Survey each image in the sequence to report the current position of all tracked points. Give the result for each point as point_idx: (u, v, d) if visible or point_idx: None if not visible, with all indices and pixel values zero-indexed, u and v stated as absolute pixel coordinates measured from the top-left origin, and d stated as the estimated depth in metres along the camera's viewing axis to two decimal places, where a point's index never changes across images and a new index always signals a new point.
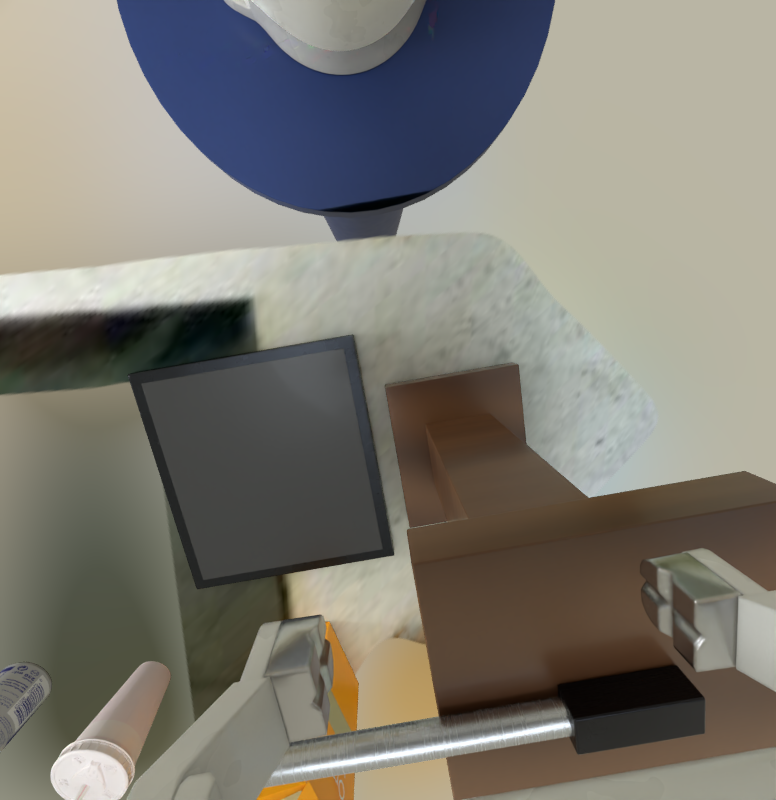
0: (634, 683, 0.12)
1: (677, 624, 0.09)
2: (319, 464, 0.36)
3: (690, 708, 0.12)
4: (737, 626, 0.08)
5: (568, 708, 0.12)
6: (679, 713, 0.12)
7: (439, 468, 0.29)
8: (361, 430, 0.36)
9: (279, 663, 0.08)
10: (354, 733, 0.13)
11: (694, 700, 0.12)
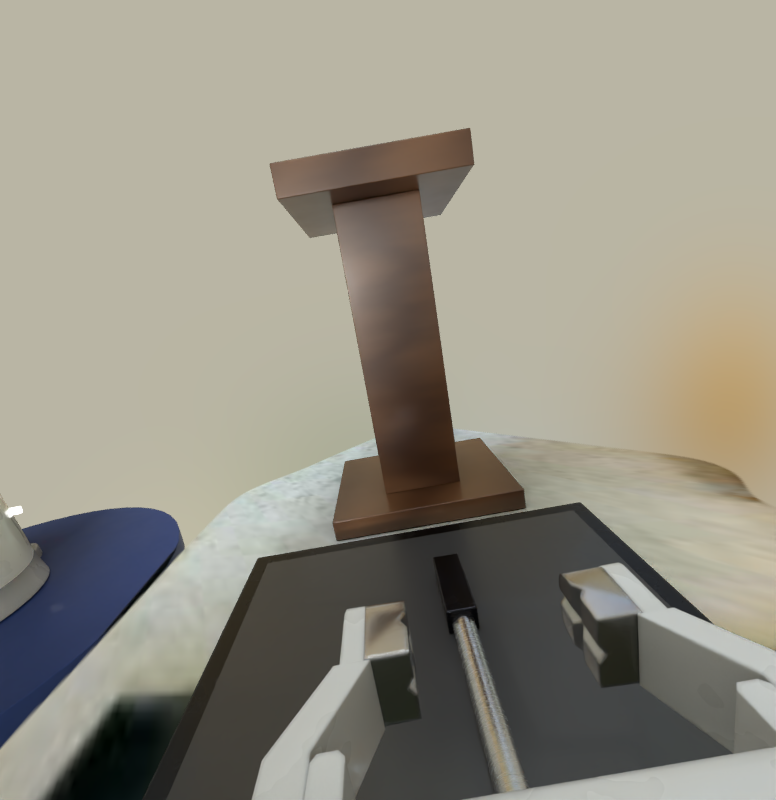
0: (439, 590, 0.19)
1: (586, 640, 0.09)
2: (433, 582, 0.21)
3: (438, 561, 0.20)
4: (638, 643, 0.08)
5: (449, 620, 0.17)
6: (442, 565, 0.20)
7: (391, 411, 0.29)
8: (385, 542, 0.25)
9: (376, 647, 0.08)
10: None
11: (433, 561, 0.21)
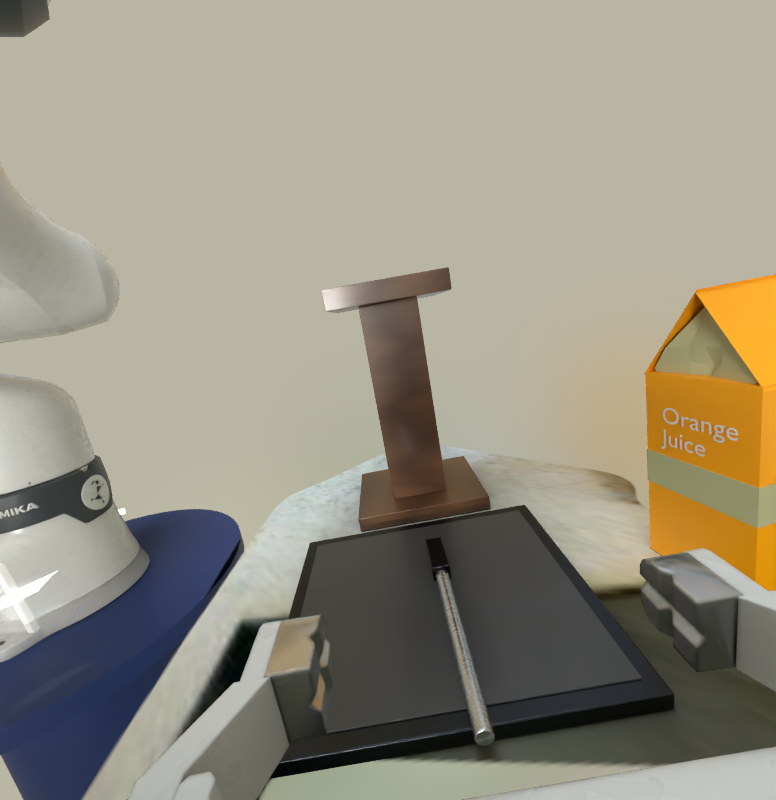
0: None
1: (677, 624, 0.09)
2: (425, 554, 0.34)
3: (429, 541, 0.33)
4: (738, 626, 0.08)
5: (433, 572, 0.30)
6: (430, 543, 0.33)
7: (398, 442, 0.42)
8: (395, 531, 0.38)
9: (279, 663, 0.08)
10: (454, 651, 0.24)
11: (426, 541, 0.34)
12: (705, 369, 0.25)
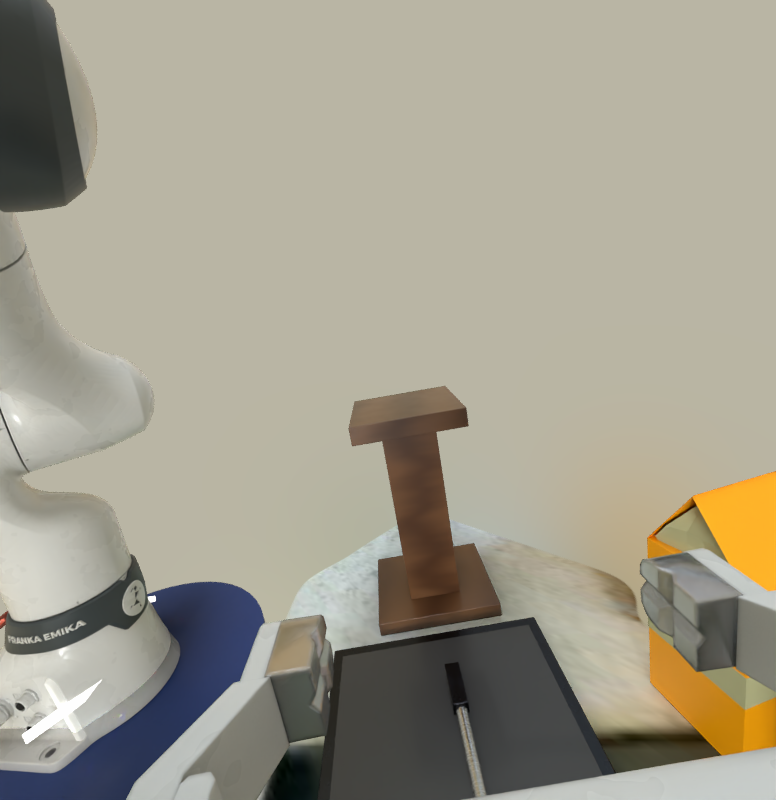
0: (448, 686, 0.36)
1: (677, 624, 0.09)
2: (444, 678, 0.37)
3: (447, 667, 0.37)
4: (737, 626, 0.08)
5: (454, 708, 0.33)
6: (449, 670, 0.36)
7: (415, 549, 0.46)
8: (414, 643, 0.41)
9: (279, 664, 0.08)
10: None
11: (445, 667, 0.37)
12: None
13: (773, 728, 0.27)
